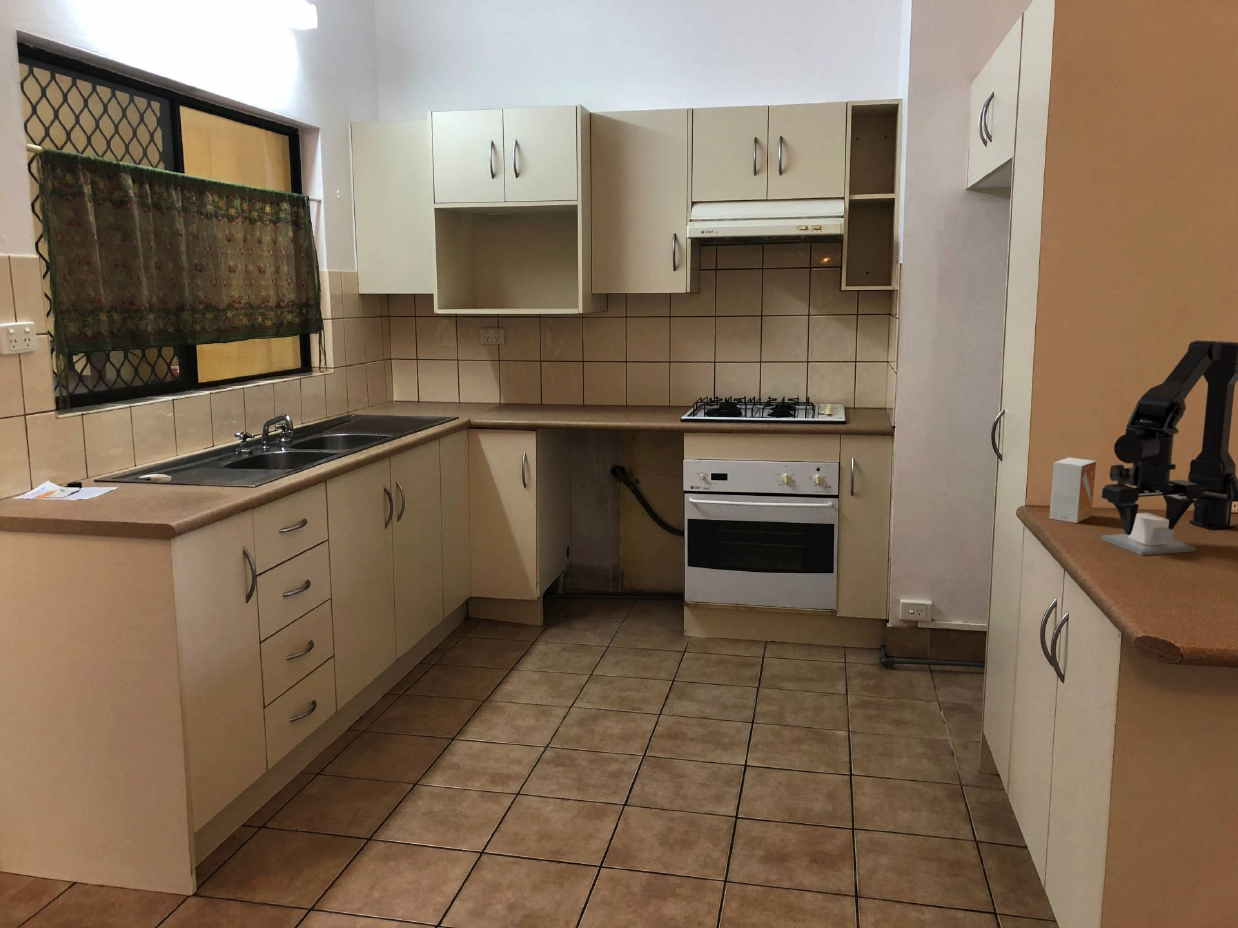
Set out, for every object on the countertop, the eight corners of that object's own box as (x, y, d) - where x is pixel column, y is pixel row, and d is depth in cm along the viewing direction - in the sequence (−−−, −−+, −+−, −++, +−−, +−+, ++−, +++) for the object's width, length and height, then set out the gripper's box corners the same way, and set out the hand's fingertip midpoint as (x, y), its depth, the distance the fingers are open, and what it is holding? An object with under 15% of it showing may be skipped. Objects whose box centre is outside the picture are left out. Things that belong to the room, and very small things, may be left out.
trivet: (1151, 535, 207) (1152, 531, 207) (1195, 551, 196) (1195, 546, 196) (1100, 539, 205) (1101, 534, 205) (1141, 555, 194) (1141, 550, 193)
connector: (1145, 536, 204) (1147, 512, 203) (1175, 547, 196) (1178, 522, 195) (1128, 537, 203) (1130, 513, 202) (1157, 548, 195) (1160, 524, 194)
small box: (1077, 523, 218) (1082, 465, 215) (1048, 518, 222) (1052, 461, 219) (1092, 517, 223) (1097, 460, 220) (1063, 512, 228) (1068, 456, 225)
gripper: (1166, 448, 207) (1159, 520, 210) (1087, 452, 203) (1081, 526, 206) (1207, 457, 196) (1199, 534, 199) (1124, 462, 192) (1117, 540, 195)
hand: (1148, 533), depth 200 cm, fingers open, 9 cm apart
